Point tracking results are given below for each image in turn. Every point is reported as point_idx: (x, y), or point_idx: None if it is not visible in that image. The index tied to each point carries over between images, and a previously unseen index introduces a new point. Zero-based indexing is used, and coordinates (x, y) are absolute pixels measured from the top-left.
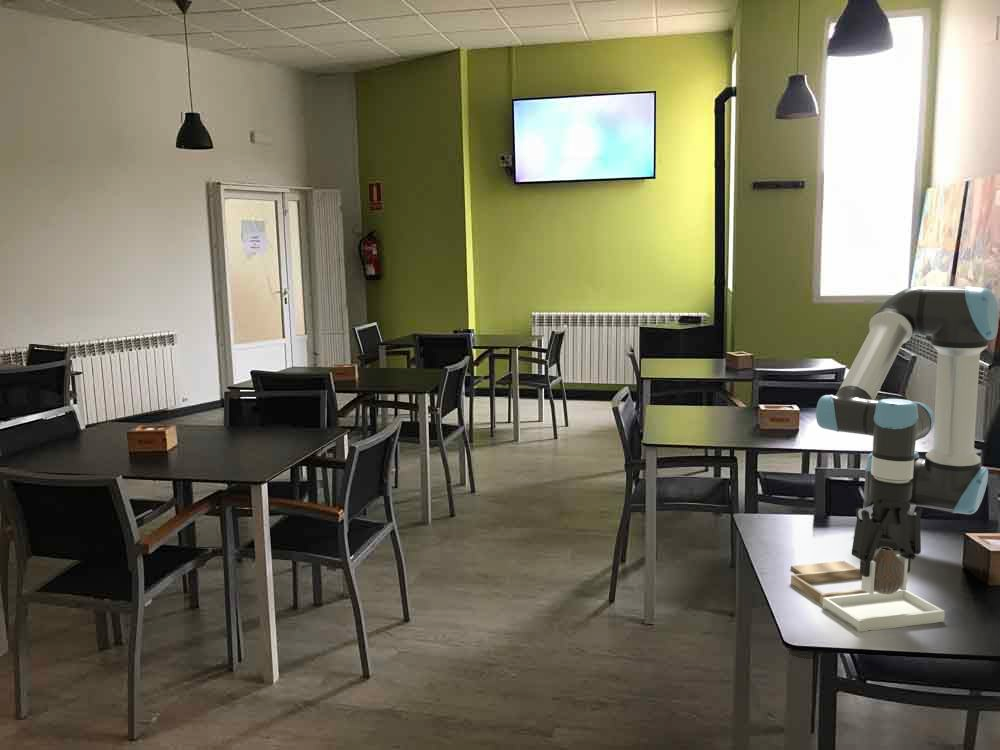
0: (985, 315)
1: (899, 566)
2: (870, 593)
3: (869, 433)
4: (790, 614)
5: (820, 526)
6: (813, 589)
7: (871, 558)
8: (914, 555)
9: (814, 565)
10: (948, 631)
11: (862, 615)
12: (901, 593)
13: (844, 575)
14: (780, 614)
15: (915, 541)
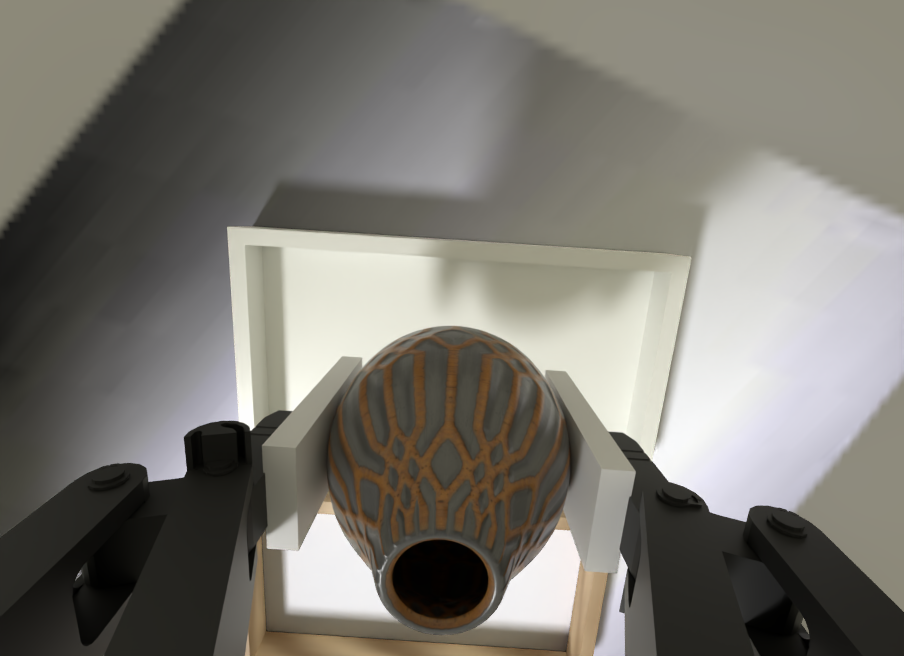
0: None
1: (405, 387)
2: (565, 371)
3: None
4: (785, 460)
5: None
6: (607, 573)
7: (657, 500)
8: (191, 444)
9: None
10: (300, 142)
11: (556, 355)
12: None
13: (357, 651)
14: (820, 471)
15: (45, 572)
